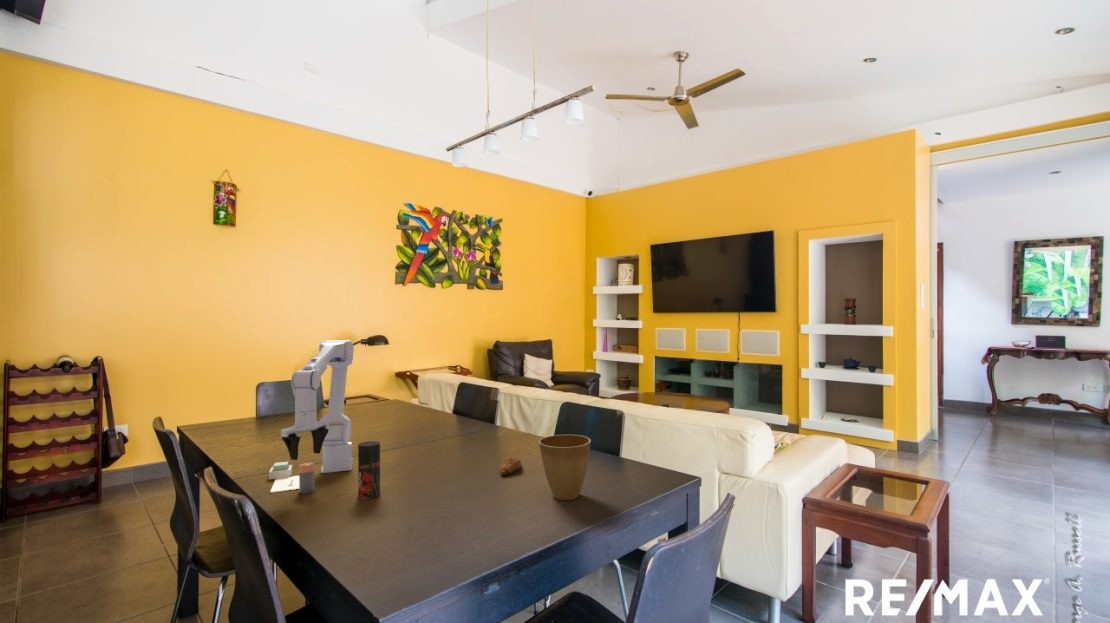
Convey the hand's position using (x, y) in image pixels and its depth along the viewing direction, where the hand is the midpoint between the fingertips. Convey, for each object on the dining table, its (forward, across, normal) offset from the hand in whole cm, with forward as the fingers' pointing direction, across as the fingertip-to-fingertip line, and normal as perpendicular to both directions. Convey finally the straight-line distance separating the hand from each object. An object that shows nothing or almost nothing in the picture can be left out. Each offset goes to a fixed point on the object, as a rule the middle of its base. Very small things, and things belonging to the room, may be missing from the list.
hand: (305, 456), depth 150 cm
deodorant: (+11, -6, +20) cm, 23 cm away
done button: (+9, -6, -21) cm, 23 cm away
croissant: (+11, -44, +44) cm, 63 cm away
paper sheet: (+10, -3, -10) cm, 15 cm away
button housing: (+10, -6, -21) cm, 24 cm away
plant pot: (+11, -30, +71) cm, 78 cm away
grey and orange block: (+10, 0, 0) cm, 11 cm away
